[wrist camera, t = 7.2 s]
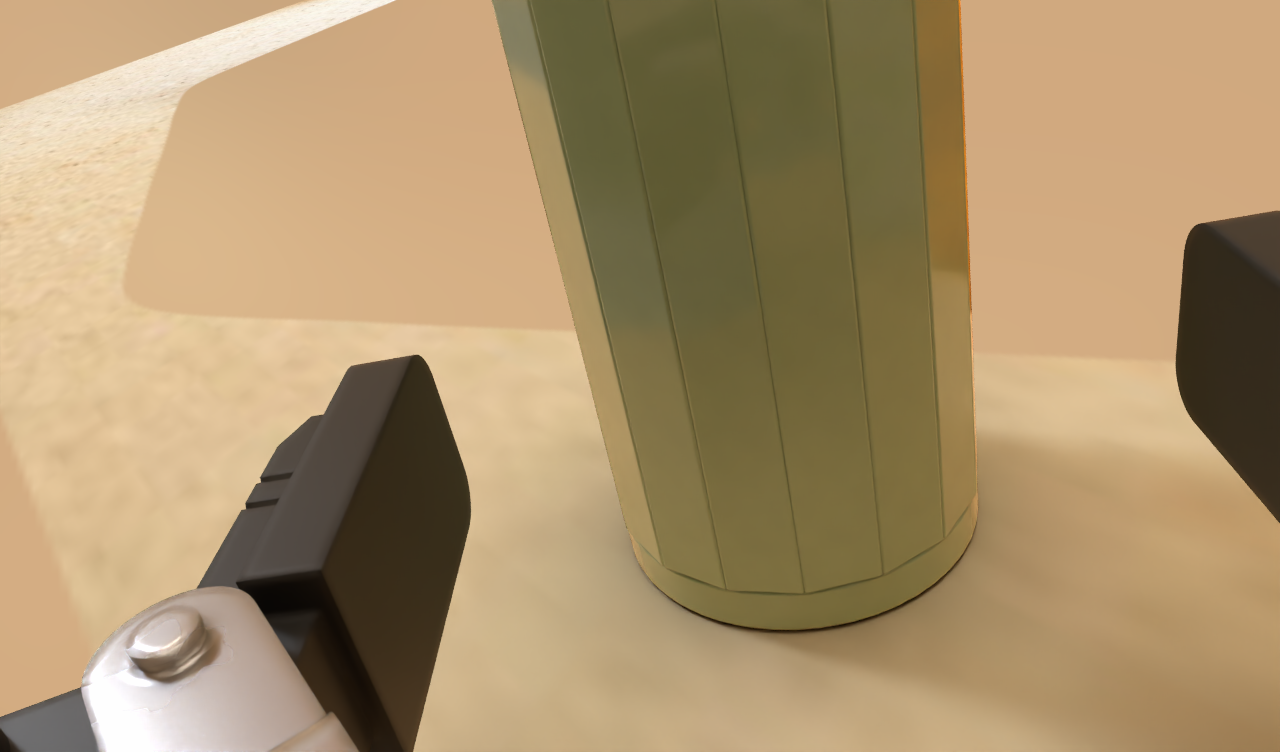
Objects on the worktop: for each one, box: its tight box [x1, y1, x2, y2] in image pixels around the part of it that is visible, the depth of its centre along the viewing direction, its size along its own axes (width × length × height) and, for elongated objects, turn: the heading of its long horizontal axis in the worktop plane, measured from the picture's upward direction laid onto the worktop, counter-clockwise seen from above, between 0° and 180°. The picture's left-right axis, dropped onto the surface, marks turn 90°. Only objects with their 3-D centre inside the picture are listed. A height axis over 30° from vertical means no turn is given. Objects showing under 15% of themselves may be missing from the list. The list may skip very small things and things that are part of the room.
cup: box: [492, 0, 978, 630], centre depth 16 cm, size 6×6×10 cm
